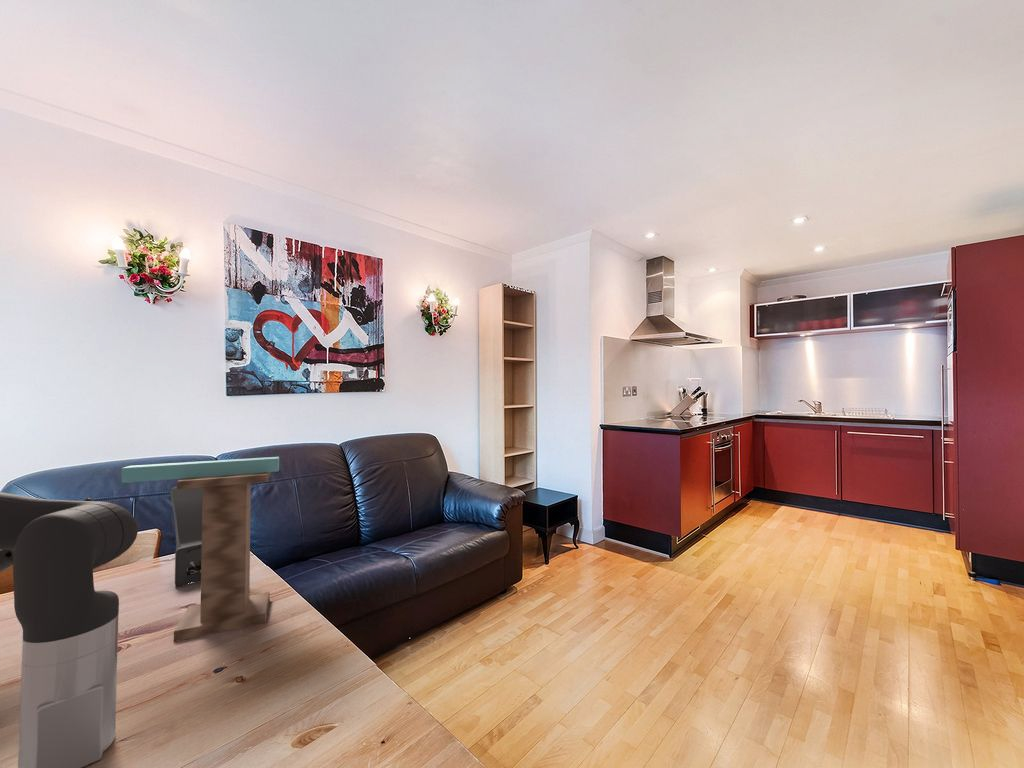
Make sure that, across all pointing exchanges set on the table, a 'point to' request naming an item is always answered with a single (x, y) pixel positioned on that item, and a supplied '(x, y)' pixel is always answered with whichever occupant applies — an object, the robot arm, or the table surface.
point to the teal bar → (198, 469)
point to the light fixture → (187, 534)
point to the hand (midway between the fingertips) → (83, 505)
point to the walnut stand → (224, 558)
